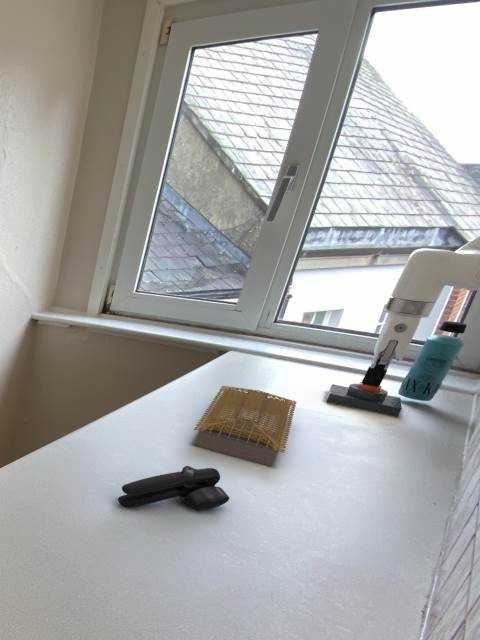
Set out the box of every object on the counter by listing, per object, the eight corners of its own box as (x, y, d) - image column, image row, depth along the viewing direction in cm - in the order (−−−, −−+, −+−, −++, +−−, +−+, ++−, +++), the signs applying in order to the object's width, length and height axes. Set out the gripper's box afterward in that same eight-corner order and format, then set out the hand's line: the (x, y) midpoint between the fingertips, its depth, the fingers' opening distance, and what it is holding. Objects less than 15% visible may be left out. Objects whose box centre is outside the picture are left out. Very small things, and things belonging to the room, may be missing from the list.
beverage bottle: (389, 395, 140) (430, 317, 131) (423, 400, 137) (467, 321, 128) (399, 403, 134) (443, 322, 125) (434, 409, 132) (481, 327, 123)
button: (378, 391, 132) (381, 384, 131) (378, 395, 129) (381, 388, 128) (356, 387, 134) (359, 380, 133) (356, 391, 131) (359, 384, 131)
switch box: (396, 406, 133) (404, 390, 131) (397, 417, 126) (406, 401, 124) (328, 392, 140) (335, 377, 138) (326, 401, 133) (333, 386, 132)
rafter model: (276, 469, 99) (290, 439, 97) (188, 444, 108) (198, 416, 105) (290, 416, 124) (301, 390, 121) (217, 399, 132) (226, 375, 129)
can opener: (198, 488, 92) (209, 458, 90) (231, 510, 86) (244, 479, 83) (103, 493, 89) (112, 463, 87) (130, 517, 83) (140, 485, 81)
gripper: (434, 315, 115) (391, 396, 124) (429, 305, 125) (390, 381, 134) (387, 309, 120) (348, 387, 128) (386, 300, 130) (350, 374, 138)
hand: (370, 384), depth 131 cm, fingers closed
